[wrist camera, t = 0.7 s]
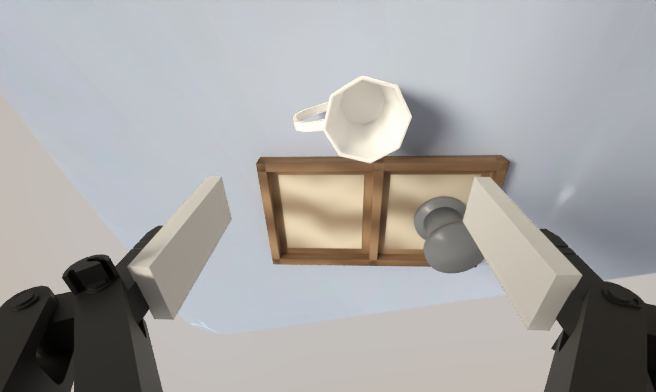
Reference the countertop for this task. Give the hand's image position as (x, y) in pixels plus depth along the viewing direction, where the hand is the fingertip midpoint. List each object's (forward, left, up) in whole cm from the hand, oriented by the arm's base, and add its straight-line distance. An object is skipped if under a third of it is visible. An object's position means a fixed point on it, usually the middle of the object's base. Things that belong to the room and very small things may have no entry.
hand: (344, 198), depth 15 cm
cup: (-1, 0, -17) cm, 18 cm away
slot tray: (+12, +4, -17) cm, 22 cm away
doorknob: (+13, +12, -17) cm, 24 cm away
